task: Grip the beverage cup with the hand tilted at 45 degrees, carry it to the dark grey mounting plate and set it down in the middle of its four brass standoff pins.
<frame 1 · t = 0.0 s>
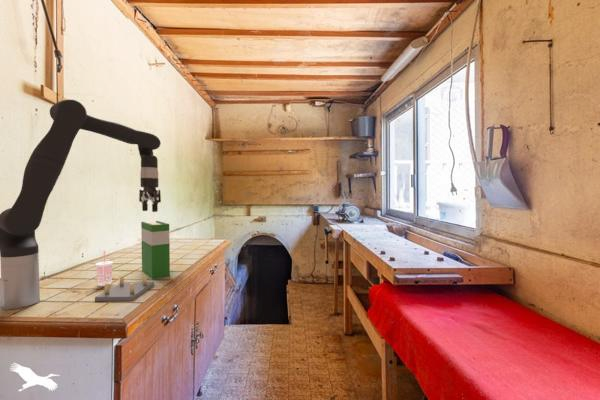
hand: (149, 211, 132), 29 cm above the worktop, fingers open, 8 cm apart
hardback book: (155, 273, 131), on the worktop
beverage cup: (104, 284, 116), on the worktop
chassis: (126, 292, 106), on the worktop
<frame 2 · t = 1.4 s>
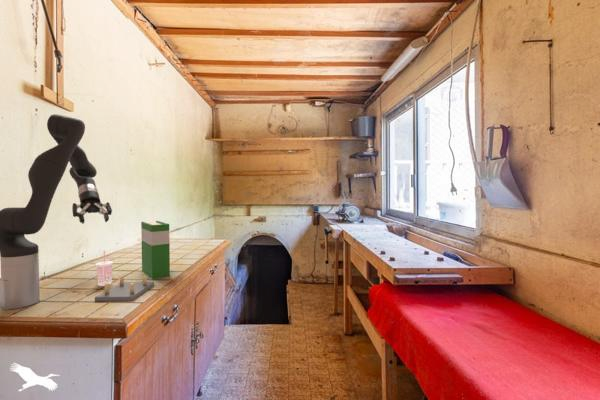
hand: (95, 221, 124), 25 cm above the worktop, fingers open, 8 cm apart
nothing on the worktop moved.
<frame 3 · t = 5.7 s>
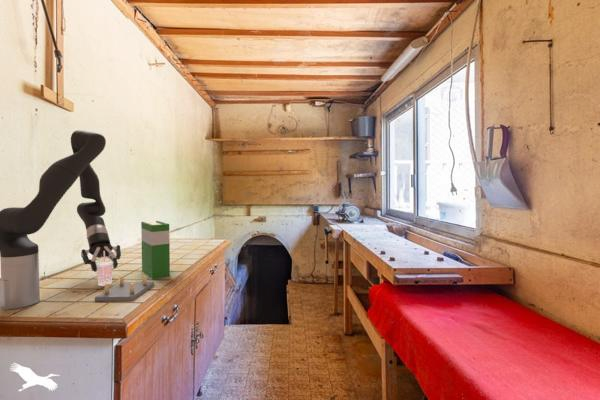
hand: (105, 268, 114), 7 cm above the worktop, fingers closed on beverage cup, 6 cm apart
beverage cup: (104, 284, 116), on the worktop, touching gripper
everything else where it was.
when the fingers open (10 cm above the worktop, at t = 12.3 s): beverage cup drops 1 cm, resting on chassis.
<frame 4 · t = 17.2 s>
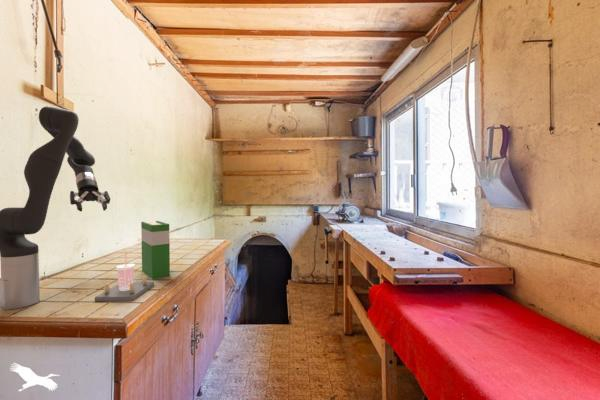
hand: (93, 209, 122), 31 cm above the worktop, fingers open, 8 cm apart
beverage cup: (126, 289, 106), point 1 cm above the worktop, touching chassis
everything else where it was.
at the end: beverage cup 0.2 cm off-centre on the chassis, point 1.3 cm above the chassis's base; beverage cup tilted 0°; the gripper is holding nothing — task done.
